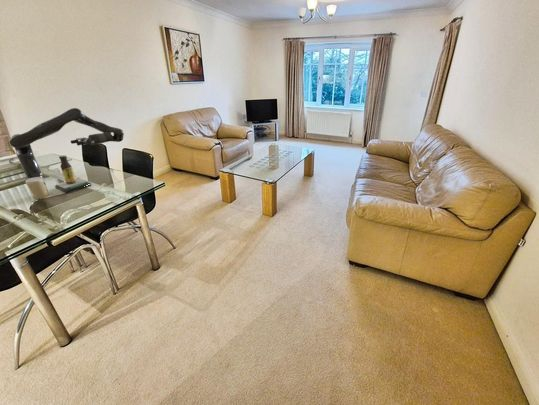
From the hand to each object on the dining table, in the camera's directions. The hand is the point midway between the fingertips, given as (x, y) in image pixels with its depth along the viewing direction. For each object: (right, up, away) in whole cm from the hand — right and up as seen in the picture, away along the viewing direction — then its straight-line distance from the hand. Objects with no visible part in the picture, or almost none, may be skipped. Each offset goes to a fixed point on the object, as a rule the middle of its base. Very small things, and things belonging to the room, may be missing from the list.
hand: (74, 143), depth 179 cm
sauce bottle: (-3, -28, +2) cm, 29 cm away
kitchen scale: (-2, -31, +3) cm, 32 cm away
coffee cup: (-14, -38, -10) cm, 42 cm away
